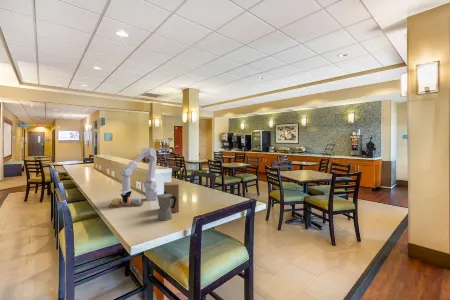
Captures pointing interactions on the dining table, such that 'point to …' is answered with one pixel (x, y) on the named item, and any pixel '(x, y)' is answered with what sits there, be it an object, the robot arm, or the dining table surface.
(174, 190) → the wooden block
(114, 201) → the ochre cube
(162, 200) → the coffeepot
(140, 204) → the frame
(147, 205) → the dining table surface
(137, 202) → the slate cube
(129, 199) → the terracotta cube
